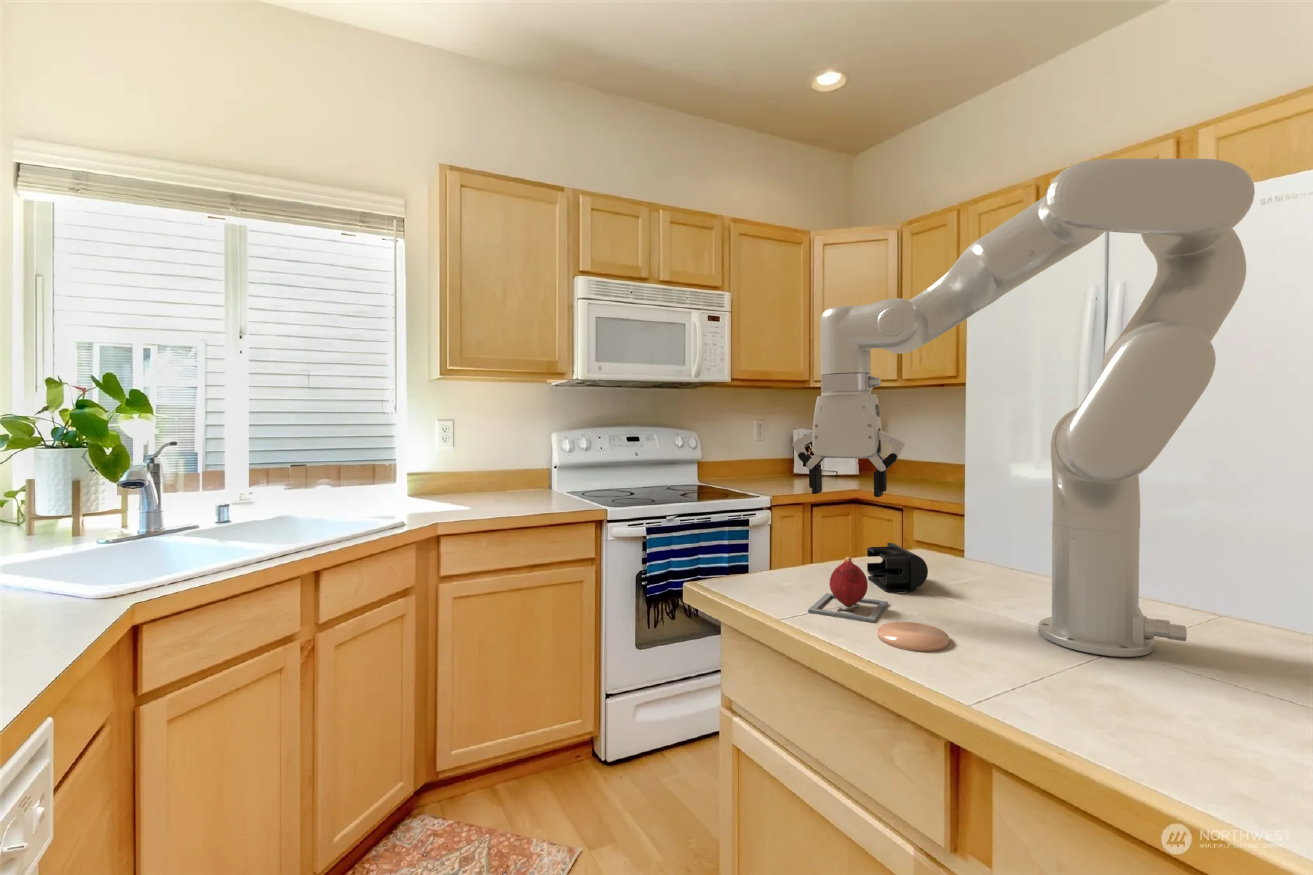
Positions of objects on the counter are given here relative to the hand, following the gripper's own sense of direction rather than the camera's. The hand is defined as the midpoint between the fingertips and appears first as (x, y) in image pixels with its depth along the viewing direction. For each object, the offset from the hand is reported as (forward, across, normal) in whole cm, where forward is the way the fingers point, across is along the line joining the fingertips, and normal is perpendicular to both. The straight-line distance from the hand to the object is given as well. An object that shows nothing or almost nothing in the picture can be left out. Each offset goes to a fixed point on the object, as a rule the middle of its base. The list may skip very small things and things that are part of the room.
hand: (847, 494), depth 97 cm
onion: (+18, 0, 0) cm, 18 cm away
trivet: (+18, -11, +9) cm, 23 cm away
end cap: (+19, -4, -17) cm, 26 cm away
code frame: (+18, 0, 0) cm, 18 cm away
